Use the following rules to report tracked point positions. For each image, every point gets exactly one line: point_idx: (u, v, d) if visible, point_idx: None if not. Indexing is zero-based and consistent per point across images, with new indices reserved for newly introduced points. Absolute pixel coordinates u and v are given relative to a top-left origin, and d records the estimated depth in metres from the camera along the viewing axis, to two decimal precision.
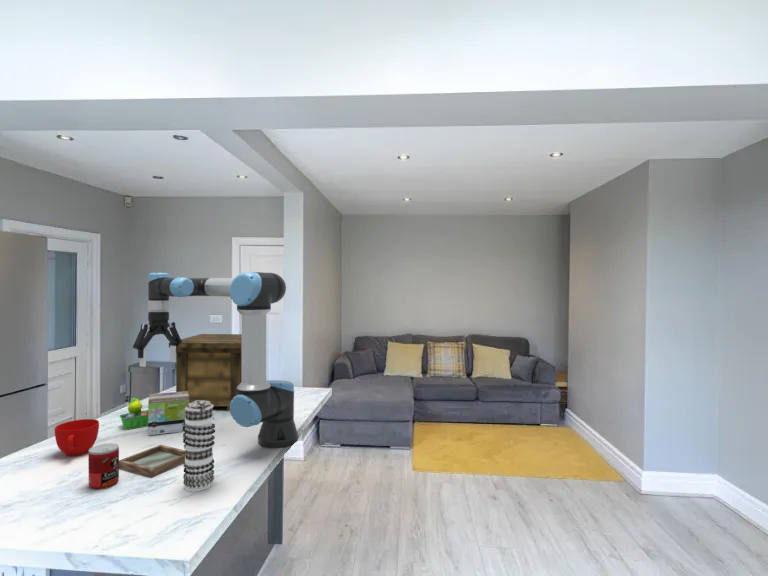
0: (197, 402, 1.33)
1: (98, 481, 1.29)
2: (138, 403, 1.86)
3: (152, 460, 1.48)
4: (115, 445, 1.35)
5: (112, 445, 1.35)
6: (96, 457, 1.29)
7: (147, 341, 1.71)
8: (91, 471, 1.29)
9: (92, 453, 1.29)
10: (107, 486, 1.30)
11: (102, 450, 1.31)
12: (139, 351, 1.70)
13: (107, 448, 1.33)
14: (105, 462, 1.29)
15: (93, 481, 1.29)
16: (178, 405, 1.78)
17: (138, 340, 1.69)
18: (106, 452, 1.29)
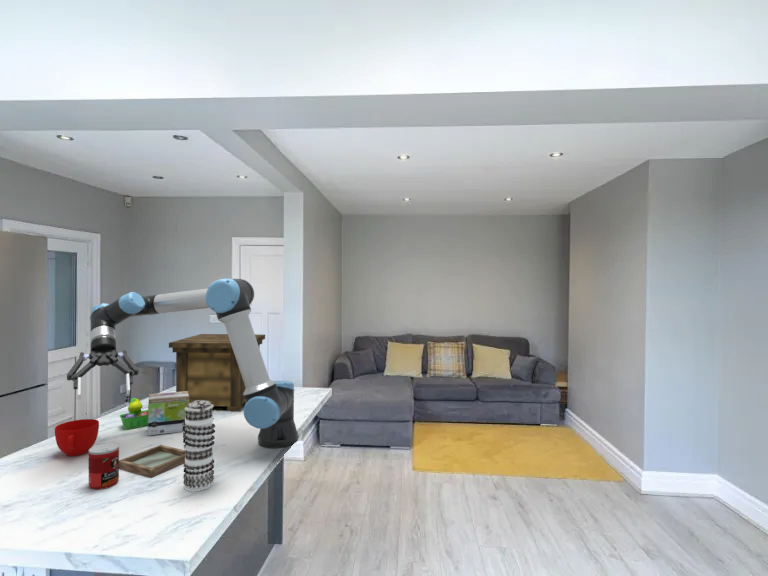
0: (197, 402, 1.33)
1: (98, 481, 1.29)
2: (138, 403, 1.86)
3: (152, 460, 1.48)
4: (115, 445, 1.35)
5: (112, 445, 1.35)
6: (96, 457, 1.29)
7: (83, 369, 1.45)
8: (91, 471, 1.29)
9: (92, 453, 1.29)
10: (107, 486, 1.30)
11: (102, 450, 1.31)
12: (73, 380, 1.42)
13: (107, 448, 1.33)
14: (105, 462, 1.29)
15: (93, 481, 1.29)
16: (178, 405, 1.78)
17: None
18: (106, 452, 1.29)
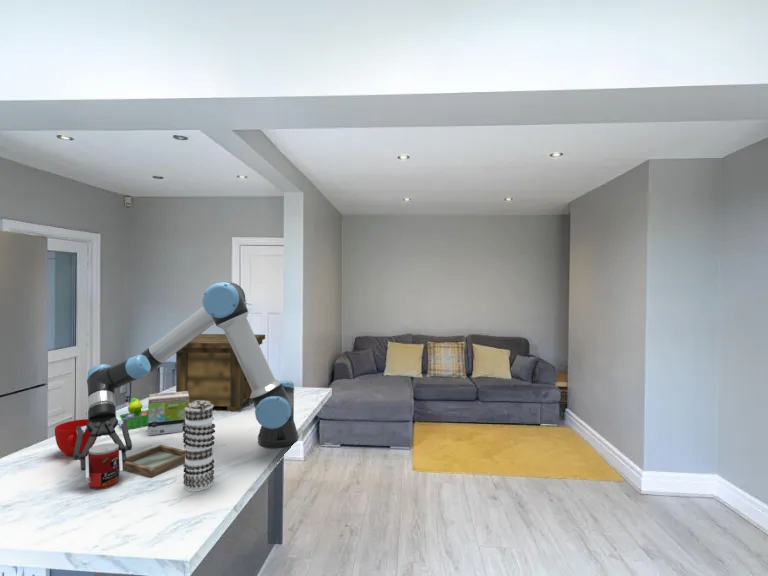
0: (197, 402, 1.33)
1: (98, 481, 1.29)
2: (138, 403, 1.86)
3: (152, 460, 1.48)
4: (115, 445, 1.35)
5: (112, 445, 1.35)
6: (96, 457, 1.29)
7: (87, 445, 1.32)
8: (91, 471, 1.29)
9: (92, 453, 1.29)
10: (107, 486, 1.30)
11: (102, 450, 1.31)
12: (80, 460, 1.30)
13: (107, 448, 1.33)
14: (105, 462, 1.29)
15: (93, 481, 1.29)
16: (178, 405, 1.78)
17: (75, 447, 1.31)
18: (106, 452, 1.30)
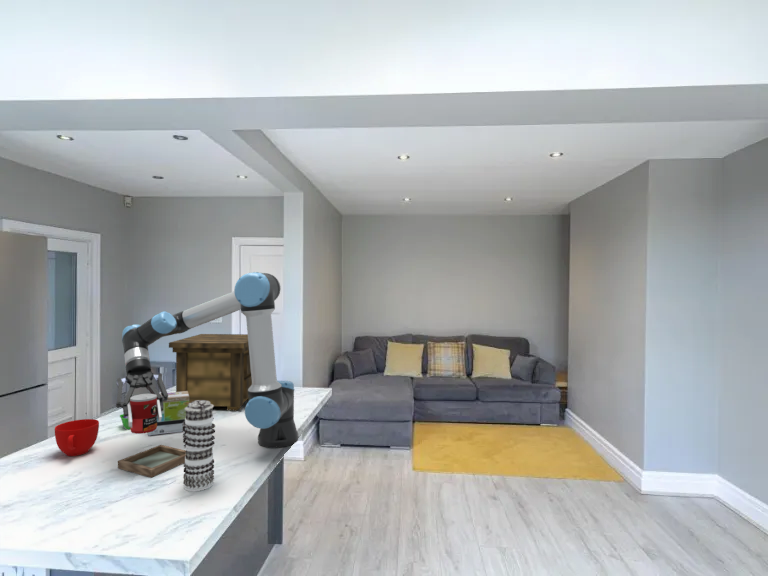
0: (197, 402, 1.33)
1: (139, 426, 1.40)
2: None
3: (152, 460, 1.48)
4: (153, 395, 1.46)
5: (150, 395, 1.46)
6: (137, 404, 1.40)
7: (128, 394, 1.43)
8: (133, 417, 1.40)
9: (134, 401, 1.40)
10: (148, 431, 1.41)
11: (142, 398, 1.42)
12: (123, 408, 1.41)
13: (146, 397, 1.44)
14: (146, 408, 1.40)
15: (135, 426, 1.40)
16: (178, 405, 1.78)
17: (117, 396, 1.42)
18: (147, 399, 1.41)
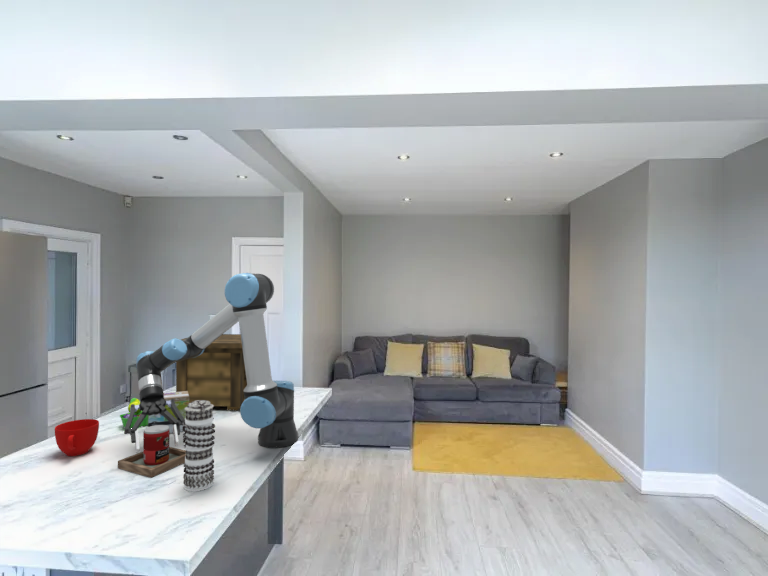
0: (197, 402, 1.33)
1: (152, 458, 1.44)
2: (138, 403, 1.86)
3: None
4: (166, 426, 1.50)
5: (163, 426, 1.50)
6: (151, 436, 1.44)
7: (138, 421, 1.47)
8: (146, 449, 1.44)
9: (147, 433, 1.44)
10: (160, 462, 1.45)
11: (155, 430, 1.46)
12: (131, 434, 1.44)
13: (159, 429, 1.48)
14: (159, 440, 1.44)
15: (148, 457, 1.44)
16: (178, 405, 1.78)
17: (126, 423, 1.46)
18: (159, 432, 1.45)
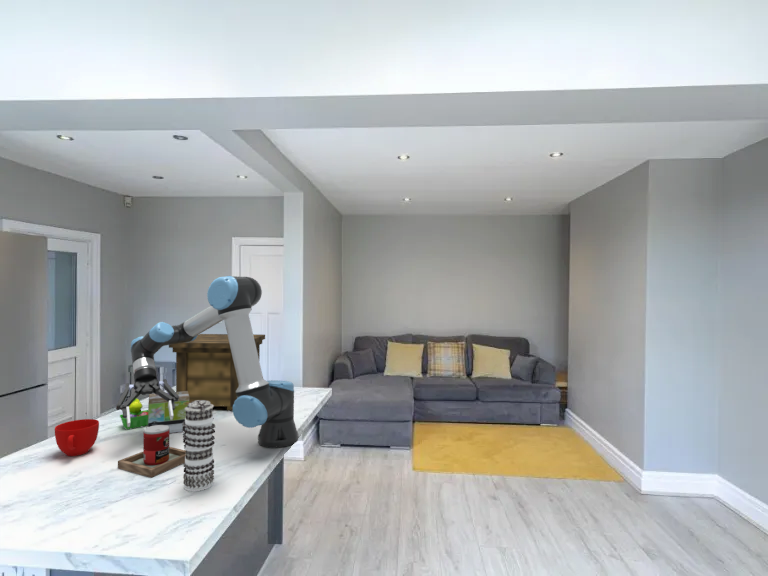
0: (197, 402, 1.33)
1: (152, 458, 1.44)
2: (138, 403, 1.86)
3: None
4: (166, 426, 1.50)
5: (163, 426, 1.50)
6: (151, 436, 1.44)
7: (130, 398, 1.58)
8: (146, 449, 1.44)
9: (147, 433, 1.44)
10: (160, 462, 1.45)
11: (155, 430, 1.46)
12: (122, 410, 1.55)
13: (159, 429, 1.48)
14: (159, 440, 1.44)
15: (148, 458, 1.44)
16: (178, 405, 1.78)
17: None
18: (159, 432, 1.45)
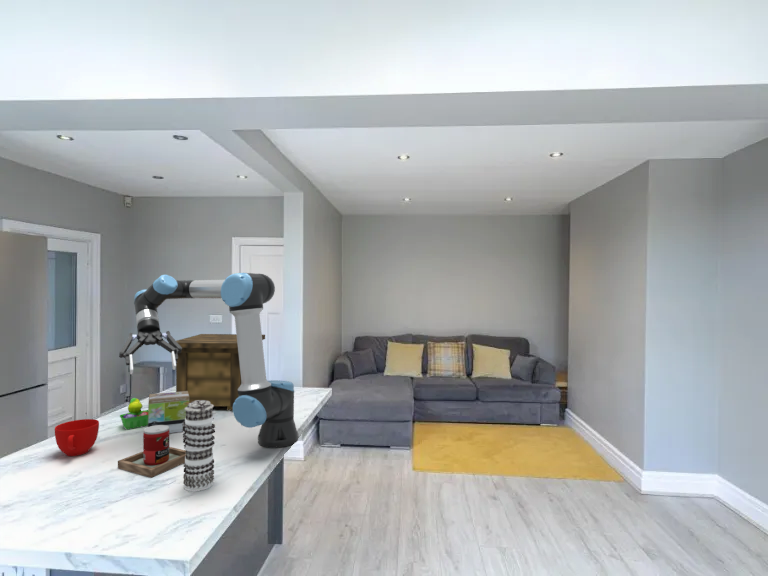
0: (197, 402, 1.33)
1: (152, 458, 1.44)
2: (138, 403, 1.86)
3: None
4: (166, 426, 1.50)
5: (163, 426, 1.50)
6: (150, 436, 1.44)
7: (133, 347, 1.58)
8: (146, 449, 1.44)
9: (147, 433, 1.44)
10: (160, 462, 1.45)
11: (155, 430, 1.46)
12: (125, 357, 1.55)
13: (159, 429, 1.48)
14: (158, 441, 1.44)
15: (148, 458, 1.44)
16: (178, 405, 1.78)
17: None
18: (159, 432, 1.45)
